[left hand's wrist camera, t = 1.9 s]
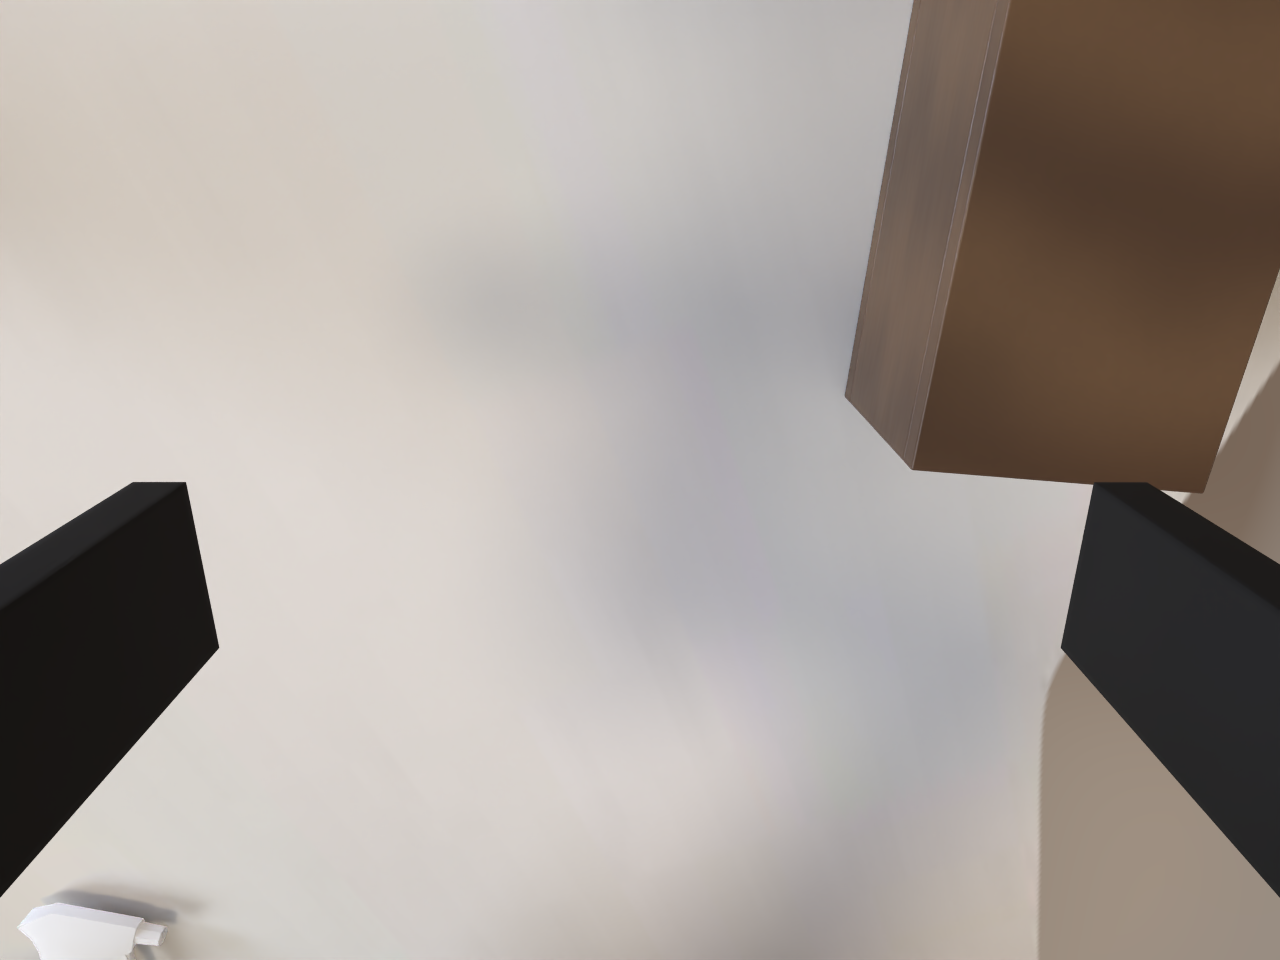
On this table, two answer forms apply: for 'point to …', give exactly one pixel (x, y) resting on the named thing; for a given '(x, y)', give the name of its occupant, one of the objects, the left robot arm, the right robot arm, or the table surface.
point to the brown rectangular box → (1072, 237)
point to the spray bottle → (87, 933)
